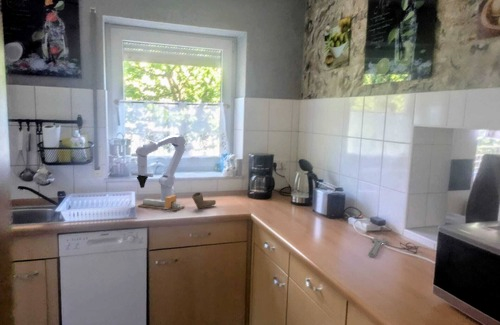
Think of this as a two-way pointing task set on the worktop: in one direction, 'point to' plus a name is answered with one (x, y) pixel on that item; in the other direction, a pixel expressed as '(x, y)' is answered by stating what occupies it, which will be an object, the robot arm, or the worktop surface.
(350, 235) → the worktop surface
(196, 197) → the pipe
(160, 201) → the stand
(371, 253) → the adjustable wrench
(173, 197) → the collar
